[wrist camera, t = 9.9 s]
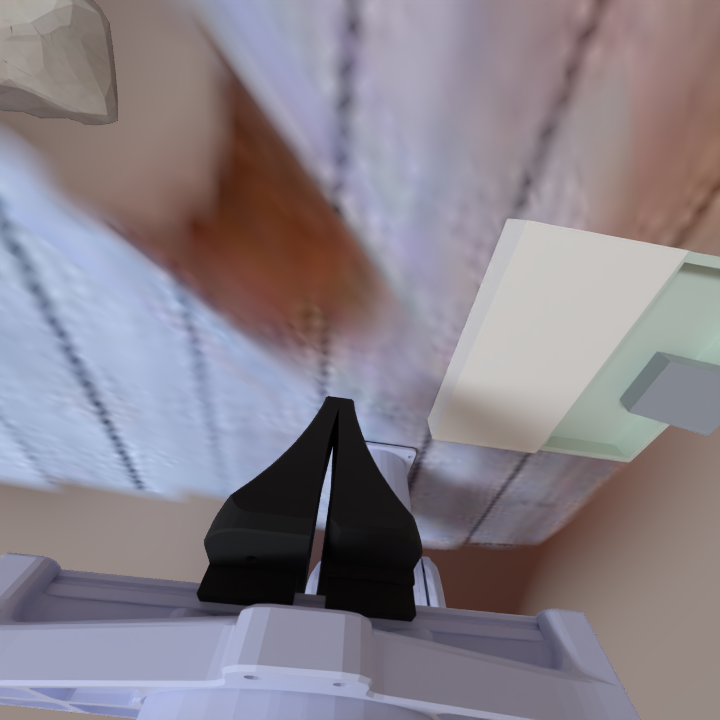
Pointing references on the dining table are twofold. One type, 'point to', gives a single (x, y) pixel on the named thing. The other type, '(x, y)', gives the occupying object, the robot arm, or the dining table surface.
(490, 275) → the white board
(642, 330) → the box
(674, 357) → the grey tile
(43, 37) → the rock
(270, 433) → the dining table surface
